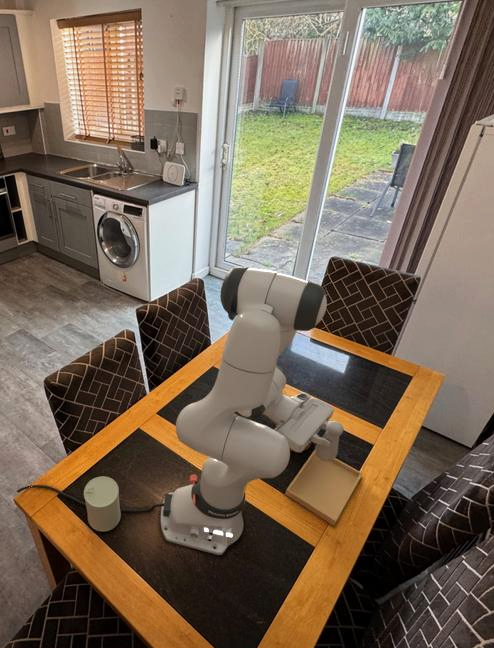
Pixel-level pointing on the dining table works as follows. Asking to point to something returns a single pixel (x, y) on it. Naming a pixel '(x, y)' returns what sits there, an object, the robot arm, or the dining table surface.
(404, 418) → the dining table surface
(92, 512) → the can
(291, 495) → the tray
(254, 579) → the dining table surface
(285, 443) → the robot arm
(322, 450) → the salt shaker
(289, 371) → the dining table surface
